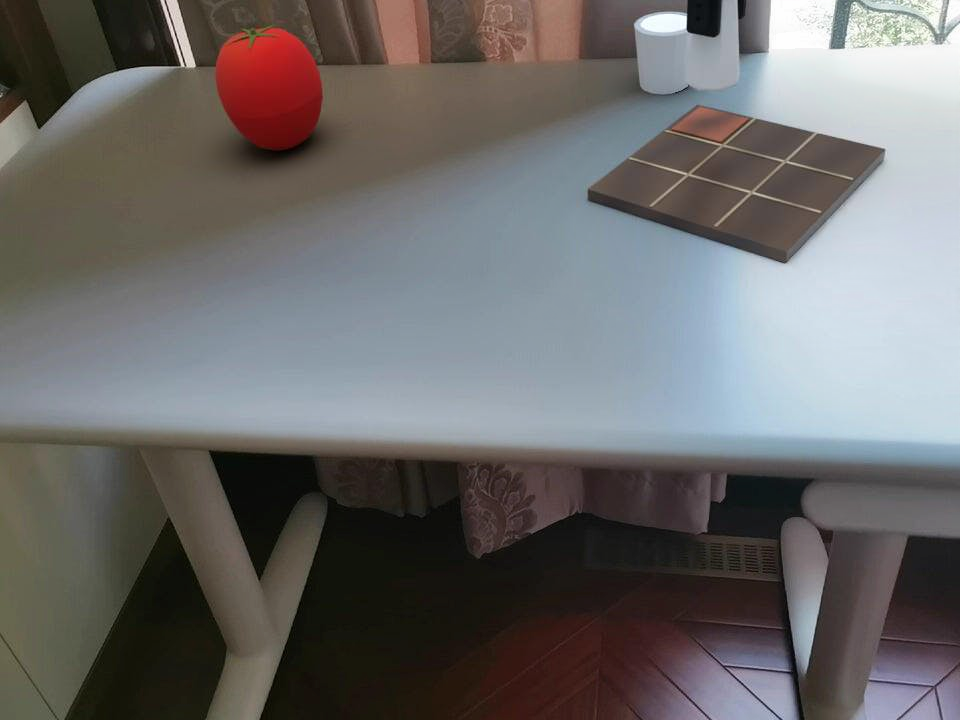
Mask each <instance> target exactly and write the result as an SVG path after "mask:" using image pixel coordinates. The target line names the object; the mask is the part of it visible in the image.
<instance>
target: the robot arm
mask: <svg viewBox="0 0 960 720" xmlns="http://www.w3.org/2000/svg"><path fill="white" fill-rule="evenodd" d="M737 2H738V21H739V20H742V19H743V18H745V16H746V11H747V9H746V8H747V0H737ZM721 5H722V0H687V3H686V14H687V26H686V29H687V31H688V32H689V33H692V34H697V35H702V36H707V37H712V38H714V37H716V36H718V35H719V34H720V22H721Z"/></svg>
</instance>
